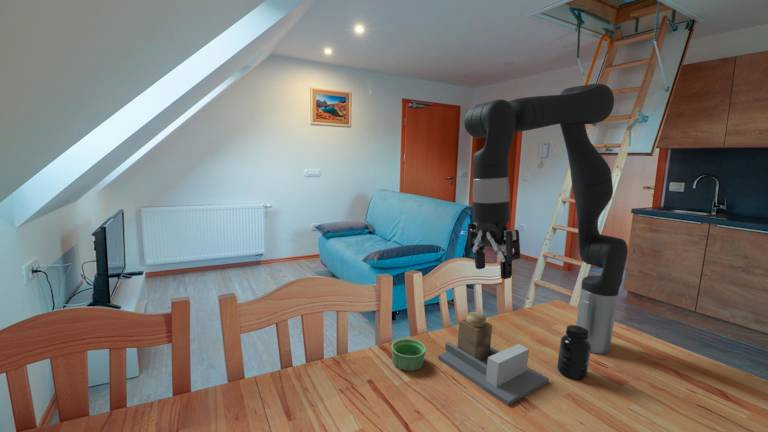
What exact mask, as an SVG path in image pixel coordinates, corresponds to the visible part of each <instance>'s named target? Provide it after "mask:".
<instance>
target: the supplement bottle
mask: <svg viewBox="0 0 768 432" xmlns="http://www.w3.org/2000/svg"><path fill="white" fill-rule="evenodd" d="M587 339H588V330H587V329H585V328H583V327H580V326H576V325H574V324H570V325H568V326H566V330H565V334H564V335H563V336H562V337H561V339H560V343H559V349H558V350H559V352H558V356H557V357H558V359H557V365H556V366H557V367H556V368H557V370H558V372H559V373H560V374H561V375H562V376H564V377H566V378H568V379H571V380H576V381H583V380H584V379H586V378H587V376H588V372H589V371H588V370H589V364H590V355H591V352H590V350H591V345H590V343H589V341H588V340H587Z"/></svg>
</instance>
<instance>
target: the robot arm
mask: <svg viewBox="0 0 768 432" xmlns="http://www.w3.org/2000/svg"><path fill="white" fill-rule="evenodd" d="M614 106H615V96H614V93H613V90H612V89H611V88H610V87H609V86H608V85H606V84H603V83H591V84H585V85H578V86H571V87H568V88H564V90H562V92H560V94H556V95H555V94H554V95H553V94H549V95H536V96H527V97H520V98H519V97H518V98H515V99H511V100H509V101H507V100H506V99H495V100H491V101H488V102H483V103H479V104H476V105H474V106H472V107H470V109H469V110H467V112H466V114H465V115H464V119H463V126H464V129H465V131H466V132H467V134H469V135H470V136H471V137H472V138H475V139H485V142H484V146H483V147H482V148H481V149H480V150H477V151H476V152H475V153H474V154H473V157H472V173H473V174H472V176H473V177H472V179H473V181H472V182H473V183H472V215H473V217H472V218H473V219H472V220H473V221H474V222H471V223H470V222H469V223H468V224H467V247H468V249H472V252H473V253H474V264H475V269H476V270H483V269H485V268H486V252H485V249H487V247H489V248H492V249H493V251H494V253H497V255H498V257H499V258H500V279H502V280H507V279H510V278H512V276H513V261H516V260H519V259H520V258H521V246H520V231H519V230H518V229H512V230H511V229H508V227H507V226H508V225H507V223H508V222H509V221H510V220H511V206H510V205H511V203H510V202H511V198H510V197H511V196H510V195H511V194H510V193H511V192H510V191H511V190H510V182H509V159H508V158H509V153H510V150H511V146H512V143H513V142H512V141H513V139H514V134H515V133H517V132H519V133H520V132H527V131H531V130H537V129H540V128H541V129H542V128H546V127H550V126H554V125H555V126H556V125H559V126H560V129H561V133H562V136H563V141H564V144H565V149H566V152H567V153H566V154H567V157H568V163H569V169H570V178H571V185H572V191H573V197H574V201H575V211H576V216H577V217H576V219H577V232H578V233H577V236H578V251H579V256H580V258H581V261H583V263H585V264H587V265H589V266H594V267H598V268H601V269H602V271H601V274H600V275H588V276H585V277H583V278H582V280H581V287H580V292H579V293H580V294H579V303H578V309H577V317H576V318H577V319H576V326H580V327H583V328H585V329H587V330H588V339H587V340H588V341H589V343H590V345H591V350H590V353H593V354H599V355H600V354H602V355H603V354H608V353H609V352H610V351H611V347H612V346H611V344H612V338H613V333H614V331H613V330H614V325H615V319H616V313H617V312H616V310H617V306H618V299H619V298H618V297H619V293H620V292H619V291H620V288H621V286H622V283H623V278H624V273H625V267H626V265H627V264H626V263H627V260H628V251H629V247H628V243H627V241H625V240H624V239H622V238H620V237H619V238H618V237H615V236H610V235H604V234H601V233H600V231H599V219H600V216H601V214H602V213H603V212H604V210H605V209H606V208H607V206H608V205H609V203H610V201H611V199H612V198H613V194H614V188H613V187H614V186H613V177H612V170H611V168H610V166H609V164H608V162H607V161H606V159H605V158H604V157H603V156H602V154H600V152H599V151H598V150H597V149H596V147H595V146H594V144H592V142H591V140H590V138H589V136H588V133H587V129H586V125H593V124H598V123H601V122H603V121H606V119H607V118H609V116H610V115H611V114H612V112H613V109H614ZM473 239H474V241H473ZM505 254H506V255H505Z"/></svg>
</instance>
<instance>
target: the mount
mask: <svg viewBox="0 0 768 432" xmlns="http://www.w3.org/2000/svg"><path fill="white" fill-rule="evenodd" d="M444 345H445V347H444V348H445V349H444V350H445V351H446V352H444V353H441V354H438V355H437V356H438V357H437V359H438V360H439V361H441V362H442V363H443V364H446V365H447V366H448V367H450V368H451V369H452V370H454V371H456V372H457V373H459V374H460V375H461V376H463V377H464V378H466V379H467V380H469V381H471V383H474V384H475V385H476V386H478V387H479V388H480V389H482V390H483V391H484V392H486V393H488V394H489V395H491V396H493V397H494V398H495V399H497V400H499V402H501V403H503V404H505V405H506V406H510V405H512V404H514V403H515V402H517V401H519V400H521V399H523V398H524V397H526V396H527V395H529V394H531V393H533V392H534V391H536V390H537V389H540V388H541V387H542V386H544V385H546V384H548V383H549V379H550V378H549V377H547V376H546V375H544V374H541V373H540V372H538V371H536V370H534V369H533V368H531V367H530V366H528V361H529V353H530V348H527V347H526V346H524V345H522V344H519V343H517V344H514V345H512V346H511V347H508V348H505V349H503V350H501V351H499V350H498V349H496V348H494V347H493V346H491V345H490V355H489V357H487V358H485V359H482V360H480V361H479V360H478V359H476V358H474V357H473V356H471V355H469V354H468V353H466V352H464V351H463V350H461V349H459V348H458V346H457V345H454V344H453V343H451V342H449V341H448V342H445V344H444Z"/></svg>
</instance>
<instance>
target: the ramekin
mask: <svg viewBox="0 0 768 432" xmlns="http://www.w3.org/2000/svg"><path fill="white" fill-rule="evenodd" d="M391 352H392V353H391V354H392V355H391V356H392V362H393V365H394V366H395V367H396V368H398V369H400V370H402V371H408V372H411V371H413V372H414V371H417V370H419V369H421V368H422V367H423V366H424V360H425V356H426V355H425V354H426V352H427V347H426V346H425V344H424V343H423V342H421V341H419V340H417V339H412V338H402V339H397V340H395V341H394V342H393V343H391Z"/></svg>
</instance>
